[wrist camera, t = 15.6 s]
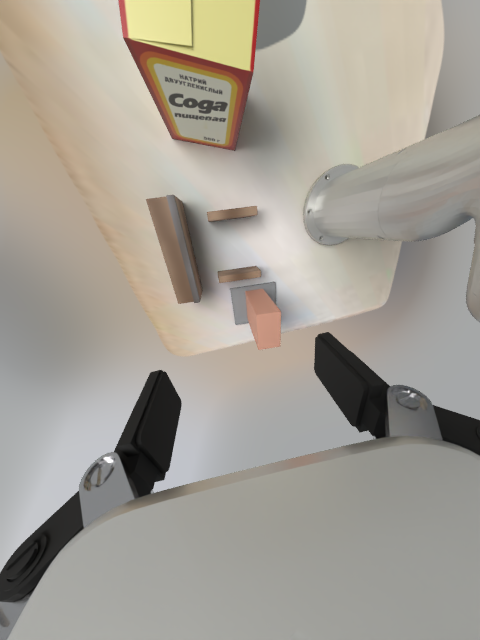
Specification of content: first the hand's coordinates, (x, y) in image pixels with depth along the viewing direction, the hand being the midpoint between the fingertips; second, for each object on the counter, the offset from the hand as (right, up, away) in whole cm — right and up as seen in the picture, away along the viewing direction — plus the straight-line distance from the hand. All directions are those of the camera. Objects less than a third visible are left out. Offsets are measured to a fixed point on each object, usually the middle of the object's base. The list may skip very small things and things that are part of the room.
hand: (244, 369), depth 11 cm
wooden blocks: (-5, +17, +23) cm, 29 cm away
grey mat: (+3, +7, +30) cm, 30 cm away
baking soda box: (-5, +33, +15) cm, 37 cm away
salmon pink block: (+3, +7, +29) cm, 30 cm away
